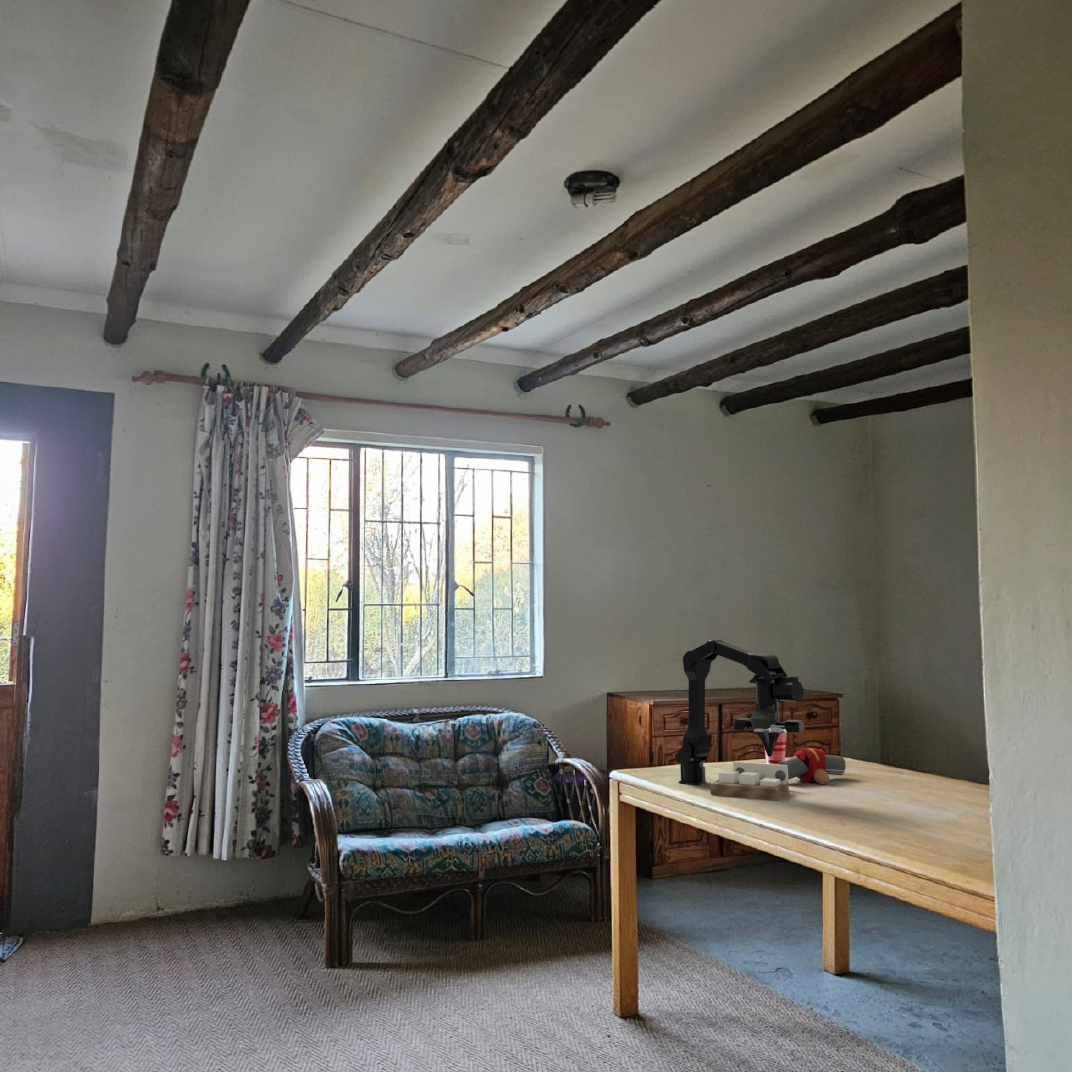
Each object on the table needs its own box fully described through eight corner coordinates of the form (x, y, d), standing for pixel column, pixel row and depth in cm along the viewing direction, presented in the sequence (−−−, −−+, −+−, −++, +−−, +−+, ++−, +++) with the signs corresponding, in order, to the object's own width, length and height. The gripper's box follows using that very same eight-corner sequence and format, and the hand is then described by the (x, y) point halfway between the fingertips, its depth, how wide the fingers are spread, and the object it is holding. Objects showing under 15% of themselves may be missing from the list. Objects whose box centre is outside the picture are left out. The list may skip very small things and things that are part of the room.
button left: (719, 787, 261) (718, 772, 261) (724, 784, 264) (723, 770, 265) (734, 788, 258) (733, 773, 259) (739, 785, 262) (738, 771, 262)
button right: (760, 795, 254) (760, 780, 255) (765, 792, 258) (764, 778, 258) (776, 796, 252) (775, 781, 252) (780, 793, 256) (780, 779, 256)
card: (733, 786, 270) (732, 761, 271) (734, 785, 271) (733, 761, 272) (787, 790, 262) (786, 765, 263) (788, 789, 263) (787, 765, 263)
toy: (766, 787, 279) (798, 795, 265) (760, 753, 279) (792, 759, 265) (826, 770, 288) (859, 776, 274) (820, 737, 288) (853, 742, 274)
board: (710, 794, 258) (710, 783, 259) (724, 787, 268) (723, 777, 268) (777, 800, 248) (776, 789, 249) (789, 793, 258) (788, 782, 258)
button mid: (739, 788, 258) (738, 774, 258) (744, 786, 261) (744, 771, 262) (754, 790, 255) (754, 775, 256) (759, 787, 259) (759, 773, 259)
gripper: (725, 701, 255) (727, 758, 254) (792, 703, 246) (795, 762, 244) (738, 698, 265) (741, 753, 263) (803, 699, 255) (806, 756, 254)
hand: (769, 756), depth 256 cm, fingers closed
